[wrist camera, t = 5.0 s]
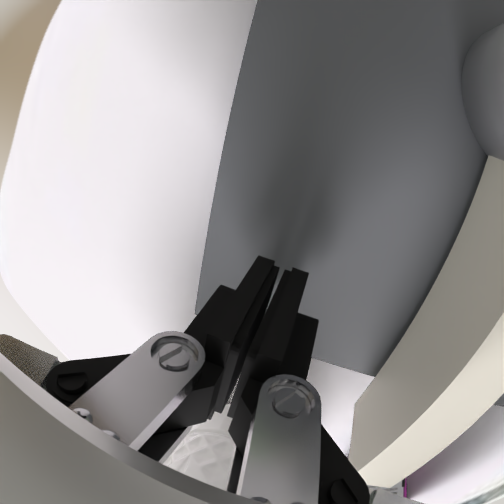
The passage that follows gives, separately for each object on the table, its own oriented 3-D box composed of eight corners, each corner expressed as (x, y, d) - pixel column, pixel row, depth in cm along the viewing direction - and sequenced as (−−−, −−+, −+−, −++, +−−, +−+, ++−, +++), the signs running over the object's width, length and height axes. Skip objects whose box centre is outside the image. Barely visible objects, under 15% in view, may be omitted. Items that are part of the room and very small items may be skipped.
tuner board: (307, -122, 5) (301, -139, 3) (637, 63, 2) (652, 64, 1) (205, 299, 14) (192, 316, 13) (512, 393, 11) (518, 411, 10)
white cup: (174, 387, 18) (92, 510, 10) (297, 402, 16) (240, 570, 7) (208, 450, 21) (157, 549, 12) (306, 464, 18) (269, 583, 10)
